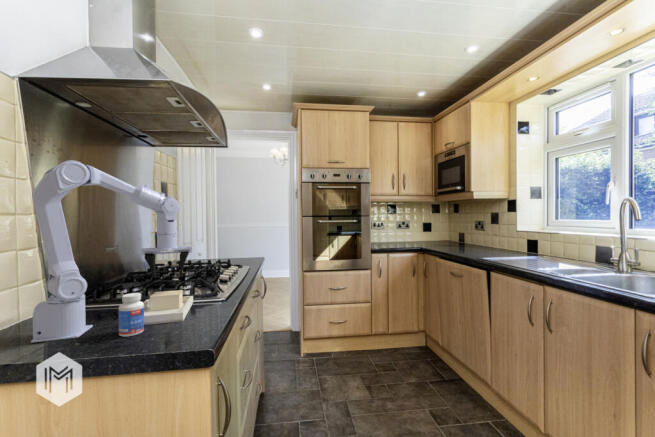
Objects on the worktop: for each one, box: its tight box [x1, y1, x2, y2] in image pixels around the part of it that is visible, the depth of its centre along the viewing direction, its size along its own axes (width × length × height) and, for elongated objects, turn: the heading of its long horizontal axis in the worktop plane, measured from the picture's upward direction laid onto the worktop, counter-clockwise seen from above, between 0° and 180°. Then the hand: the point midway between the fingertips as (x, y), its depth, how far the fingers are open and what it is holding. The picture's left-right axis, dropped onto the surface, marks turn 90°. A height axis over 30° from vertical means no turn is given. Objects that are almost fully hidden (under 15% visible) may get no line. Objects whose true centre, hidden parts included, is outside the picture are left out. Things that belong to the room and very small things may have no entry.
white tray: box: [142, 295, 194, 326], centre depth 89 cm, size 14×18×2 cm
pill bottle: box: [118, 292, 145, 338], centre depth 74 cm, size 6×5×10 cm
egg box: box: [149, 289, 184, 311], centre depth 93 cm, size 8×6×4 cm
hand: (167, 275), depth 94 cm, fingers open, 7 cm apart
